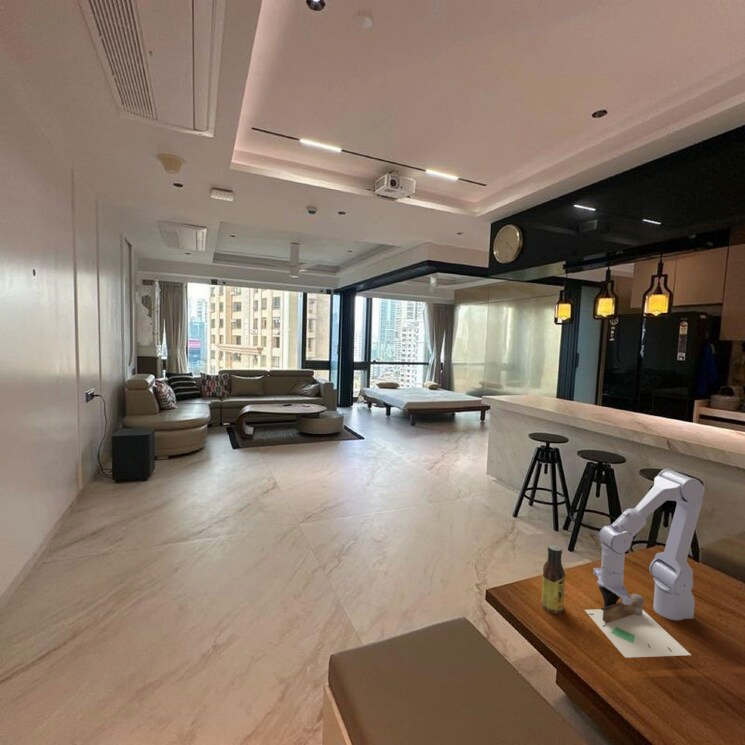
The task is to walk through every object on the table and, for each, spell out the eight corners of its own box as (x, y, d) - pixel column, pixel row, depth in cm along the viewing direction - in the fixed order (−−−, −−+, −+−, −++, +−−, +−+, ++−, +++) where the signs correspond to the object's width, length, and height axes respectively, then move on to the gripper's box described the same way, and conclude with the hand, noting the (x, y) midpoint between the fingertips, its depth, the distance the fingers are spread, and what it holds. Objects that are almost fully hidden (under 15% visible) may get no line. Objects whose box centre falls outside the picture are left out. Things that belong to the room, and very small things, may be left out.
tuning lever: (635, 606, 120) (635, 592, 120) (644, 613, 117) (645, 598, 117) (596, 619, 115) (597, 604, 114) (605, 626, 112) (606, 611, 111)
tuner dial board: (640, 611, 120) (640, 607, 120) (691, 658, 102) (691, 654, 102) (584, 612, 119) (584, 609, 119) (624, 661, 102) (625, 657, 101)
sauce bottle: (562, 619, 117) (565, 556, 115) (539, 611, 120) (542, 549, 118) (564, 606, 122) (567, 546, 120) (542, 599, 125) (545, 540, 124)
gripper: (584, 554, 123) (582, 595, 124) (615, 583, 108) (612, 629, 109) (606, 554, 123) (604, 595, 124) (640, 583, 108) (637, 628, 110)
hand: (609, 611), depth 117 cm, fingers closed
